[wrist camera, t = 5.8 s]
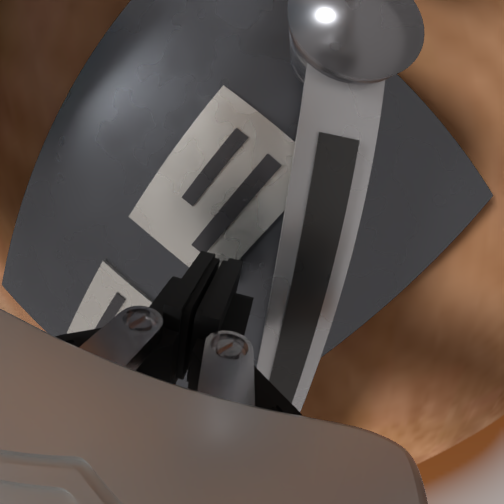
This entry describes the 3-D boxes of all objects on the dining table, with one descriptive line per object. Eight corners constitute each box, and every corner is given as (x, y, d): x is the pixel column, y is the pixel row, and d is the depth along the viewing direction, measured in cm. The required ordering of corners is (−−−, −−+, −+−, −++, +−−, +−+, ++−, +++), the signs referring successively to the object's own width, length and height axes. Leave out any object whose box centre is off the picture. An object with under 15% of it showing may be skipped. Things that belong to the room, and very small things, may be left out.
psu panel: (197, -50, 9) (182, -71, 7) (481, 188, 12) (506, 199, 10) (11, 277, 18) (-7, 291, 16) (196, 427, 21) (189, 449, 19)
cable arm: (295, 8, 8) (294, -47, 5) (385, 26, 8) (424, -16, 4) (229, 453, 18) (217, 502, 14) (276, 461, 17) (270, 510, 14)
